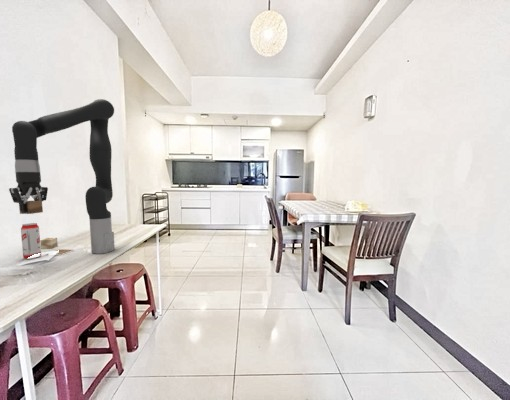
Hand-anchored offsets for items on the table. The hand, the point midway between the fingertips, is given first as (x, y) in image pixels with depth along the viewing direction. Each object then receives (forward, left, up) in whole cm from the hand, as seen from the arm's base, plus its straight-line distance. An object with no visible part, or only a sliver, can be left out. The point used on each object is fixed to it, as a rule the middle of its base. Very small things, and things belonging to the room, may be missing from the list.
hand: (31, 211), depth 100 cm
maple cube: (+20, -25, -23) cm, 40 cm away
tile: (+6, -17, -23) cm, 29 cm away
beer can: (+12, -9, -23) cm, 28 cm away
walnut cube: (0, 0, 0) cm, 0 cm away
